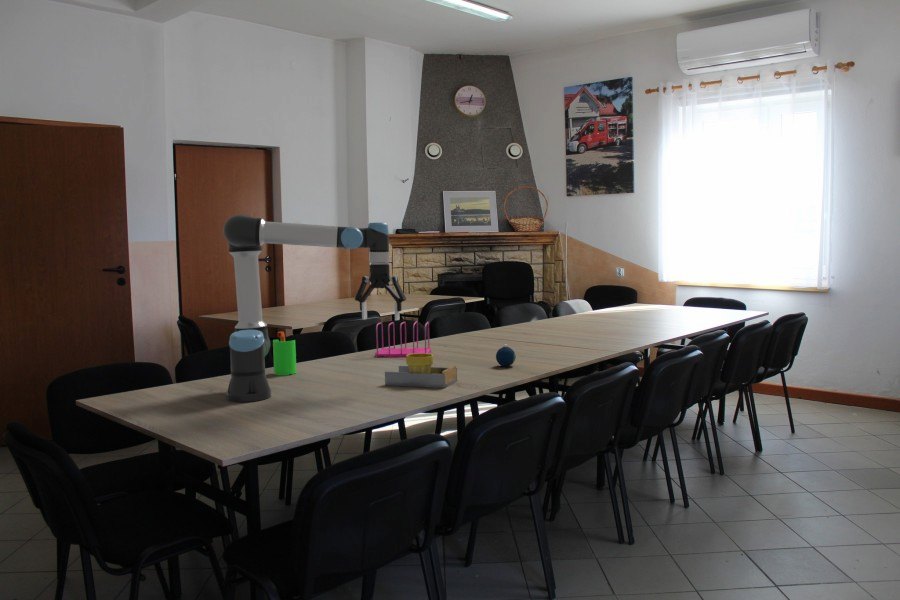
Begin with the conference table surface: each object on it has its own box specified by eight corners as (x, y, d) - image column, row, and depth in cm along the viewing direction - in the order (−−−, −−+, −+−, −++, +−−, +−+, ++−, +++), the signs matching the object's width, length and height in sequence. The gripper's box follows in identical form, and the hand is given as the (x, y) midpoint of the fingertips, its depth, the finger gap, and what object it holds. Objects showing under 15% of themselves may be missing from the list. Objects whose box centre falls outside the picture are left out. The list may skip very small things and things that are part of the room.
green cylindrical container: (298, 372, 299) (297, 329, 297) (292, 375, 291) (290, 332, 289) (277, 372, 299) (275, 330, 298) (270, 375, 291) (269, 332, 290)
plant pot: (438, 378, 273) (437, 353, 272) (426, 383, 263) (425, 357, 262) (414, 376, 277) (413, 352, 276) (401, 381, 268) (401, 356, 267)
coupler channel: (444, 388, 259) (444, 372, 259) (385, 384, 268) (384, 369, 267) (457, 380, 273) (456, 365, 272) (400, 378, 281) (399, 363, 280)
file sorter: (381, 352, 350) (380, 320, 349) (431, 351, 349) (430, 319, 347) (375, 357, 333) (374, 324, 332) (427, 357, 331) (427, 323, 330)
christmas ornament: (510, 368, 296) (510, 345, 296) (492, 367, 301) (492, 343, 300) (519, 365, 304) (518, 342, 303) (501, 364, 308) (501, 341, 307)
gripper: (413, 263, 266) (415, 319, 267) (354, 263, 274) (355, 317, 276) (405, 263, 259) (407, 321, 260) (345, 264, 267) (346, 320, 269)
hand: (380, 319), depth 268 cm, fingers open, 13 cm apart
